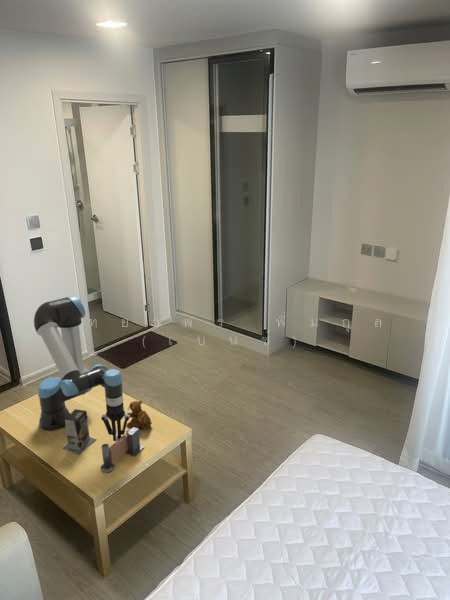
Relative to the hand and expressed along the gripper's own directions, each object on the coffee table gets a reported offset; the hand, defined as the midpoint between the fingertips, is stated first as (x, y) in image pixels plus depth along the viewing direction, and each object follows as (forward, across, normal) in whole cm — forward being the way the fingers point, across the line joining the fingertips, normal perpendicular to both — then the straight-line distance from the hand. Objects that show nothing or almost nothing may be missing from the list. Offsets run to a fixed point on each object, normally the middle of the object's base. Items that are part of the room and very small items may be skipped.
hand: (117, 446), depth 210 cm
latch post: (+2, +8, 0) cm, 8 cm away
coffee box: (+3, -19, +6) cm, 20 cm away
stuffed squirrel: (+3, +8, +19) cm, 21 cm away
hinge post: (+3, -3, -12) cm, 12 cm away
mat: (+3, -19, +6) cm, 20 cm away
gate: (+1, +2, -3) cm, 4 cm away
